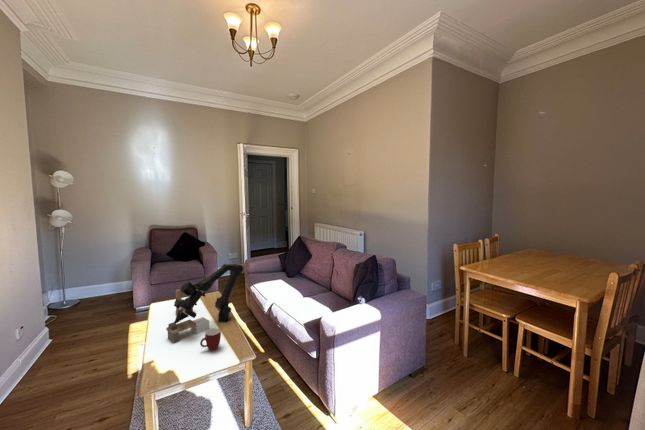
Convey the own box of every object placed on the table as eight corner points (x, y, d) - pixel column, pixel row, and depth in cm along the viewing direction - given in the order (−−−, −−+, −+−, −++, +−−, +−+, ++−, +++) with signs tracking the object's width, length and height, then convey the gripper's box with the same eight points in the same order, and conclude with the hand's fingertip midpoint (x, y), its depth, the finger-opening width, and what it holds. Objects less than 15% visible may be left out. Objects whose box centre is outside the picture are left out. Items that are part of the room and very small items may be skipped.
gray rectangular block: (203, 325, 176) (202, 316, 176) (209, 328, 171) (209, 320, 171) (167, 338, 160) (167, 329, 159) (173, 343, 155) (173, 334, 154)
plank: (190, 321, 169) (189, 315, 169) (196, 325, 164) (196, 319, 164) (166, 330, 159) (166, 323, 158) (172, 334, 154) (172, 327, 153)
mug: (202, 356, 142) (202, 338, 142) (199, 349, 149) (198, 332, 148) (223, 349, 149) (222, 332, 148) (218, 343, 155) (218, 326, 154)
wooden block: (192, 313, 192) (191, 289, 191) (175, 315, 189) (174, 291, 187) (193, 311, 196) (192, 287, 194) (176, 313, 192) (175, 289, 191)
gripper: (176, 289, 167) (157, 312, 159) (190, 297, 155) (170, 322, 148) (189, 298, 174) (172, 320, 166) (204, 305, 162) (185, 330, 154)
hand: (174, 323), depth 158 cm, fingers closed
